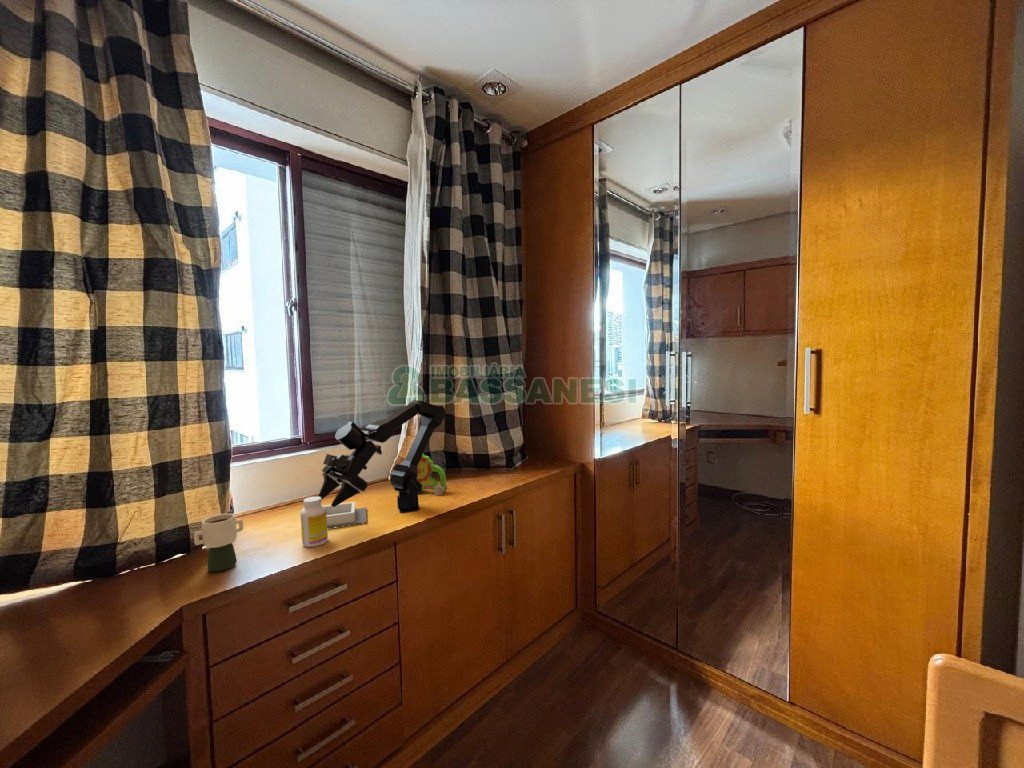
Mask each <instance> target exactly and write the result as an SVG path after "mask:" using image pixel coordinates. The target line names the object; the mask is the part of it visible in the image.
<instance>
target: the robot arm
mask: <svg viewBox="0 0 1024 768" xmlns="http://www.w3.org/2000/svg"><path fill="white" fill-rule="evenodd" d="M417 415H420V426H419V428H418V431H417V433H416V434H415V435H416V436H414V439H413V441H412V443H411V445H410V448H409V450H408V452H407V454H406V456H405V458H404V460H403V462H401V463H395V464H394V467H393V470H392V471H391V473H390V477H389V481H390V484H391V486H392V487H393V489H394V491H395V492H398V495H397V496H396V497H397V498H396V501H397V502H396V503H397V505H396V506H397V509H398V510H399V513H409V512H415V511H420V509H421V508H420V506H419V505H420V504H419V493H421V492H422V491H423V490H422V484H421V483H419V482H418V481H417V476H418V470H417V466H418V464H419V462H420V459H421V457H422V455H423V454H424V453H425V450H426V448H427V446H428V444H429V442H430V439H431V438H432V435H433V433H434V431H435V430H436V429H437V428H438V427H439V426H441V424H443V422H444V421H445V419H446V417H447V411H446V409H445V407H444V406H443V405H441V404H440V405H437V404H431V403H428V402H427V401H423V400H419V399H418V400H416V399H413V400H412V401H410V402H409V403H408V404H406V405H405V406H403V407H402V408H401V409H398V410H397V411H395V412H394V413H392V414H391V415H390V416H388V417H387V418H386V417H385V418H384V419H380V420H379V419H378V420H376V421H374V422H372V423H368V424H367V425H366V426H365V428H362V429H361V428H360V427H359V426H357V424H356V423H355V422H354V421H348V423H347V424H345V425H343V426H342V427H340V428H338V429H337V431H336V432H335V435H334V438H335V439H336V440H337V441H338V442H339V443H340V444H341V445H343V446H344V447H345V448H346V449H347V450H349V451H351V450H353V451H352V452H351V453H349V454H346V455H345V454H340V453H339V454H338V455H337V456H336V455H335V454H334V455H333V454H330V453H326V455H325V458H324V460H323V463H322V464H323V465H325V466H324V467H323V468H322V469H321V472H322V476H323V483H322V486H321V488H320V491H319V493H318V497H321V500H323V499H324V498H326V497H327V496H328V495H329V494H330V493H332V492H333V491H334V490H336V489H337V488H338V487H339V486H341V488H340V489H339V491H338V493H337V494H336V496H335V497H334V498H333V500H332V502H331V504H330V505H331V506H333V507H335V506H337V505H339V504H341V503H345V501H347V500H348V499H350V498H352V497H354V496H356V495H358V494H359V495H360V494H361V492H362V493H364V492H365V491H366V489H367V488H368V482H367V481H366V480H365V479H364V478H362V476H359V475H360V474H361V472H363V470H365V471H366V470H367V469H368V466H367V464H368V463H369V461H370V460H371V459H372V457H373V456H374V455H375V454H377V455H380V456H381V455H382V454H383V452H382V446H381V445H379V444H375V443H380V444H381V443H382V444H383V443H385V442H387V441H388V440H389V439H391V437H392V436H394V433H395V432H396V430H397V429H398V428H399V427H401V426H402V425H404V424H406V423H407V422H408V421H410V420H411V419H413V418H414V417H416V416H417ZM374 442H375V443H374Z"/></svg>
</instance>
